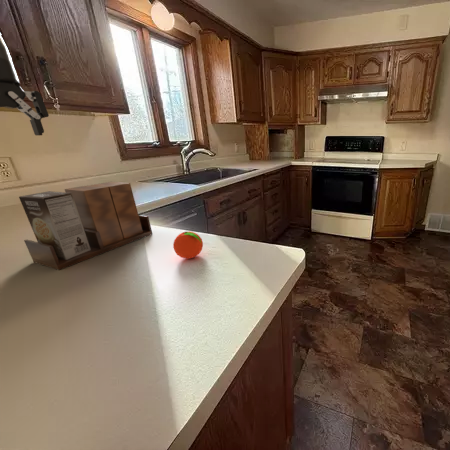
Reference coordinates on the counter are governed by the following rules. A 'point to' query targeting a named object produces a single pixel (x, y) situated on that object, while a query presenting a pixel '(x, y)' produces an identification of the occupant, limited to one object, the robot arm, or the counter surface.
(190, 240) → the clementine
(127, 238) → the book rack
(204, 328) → the counter surface
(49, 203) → the coffee box
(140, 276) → the counter surface
